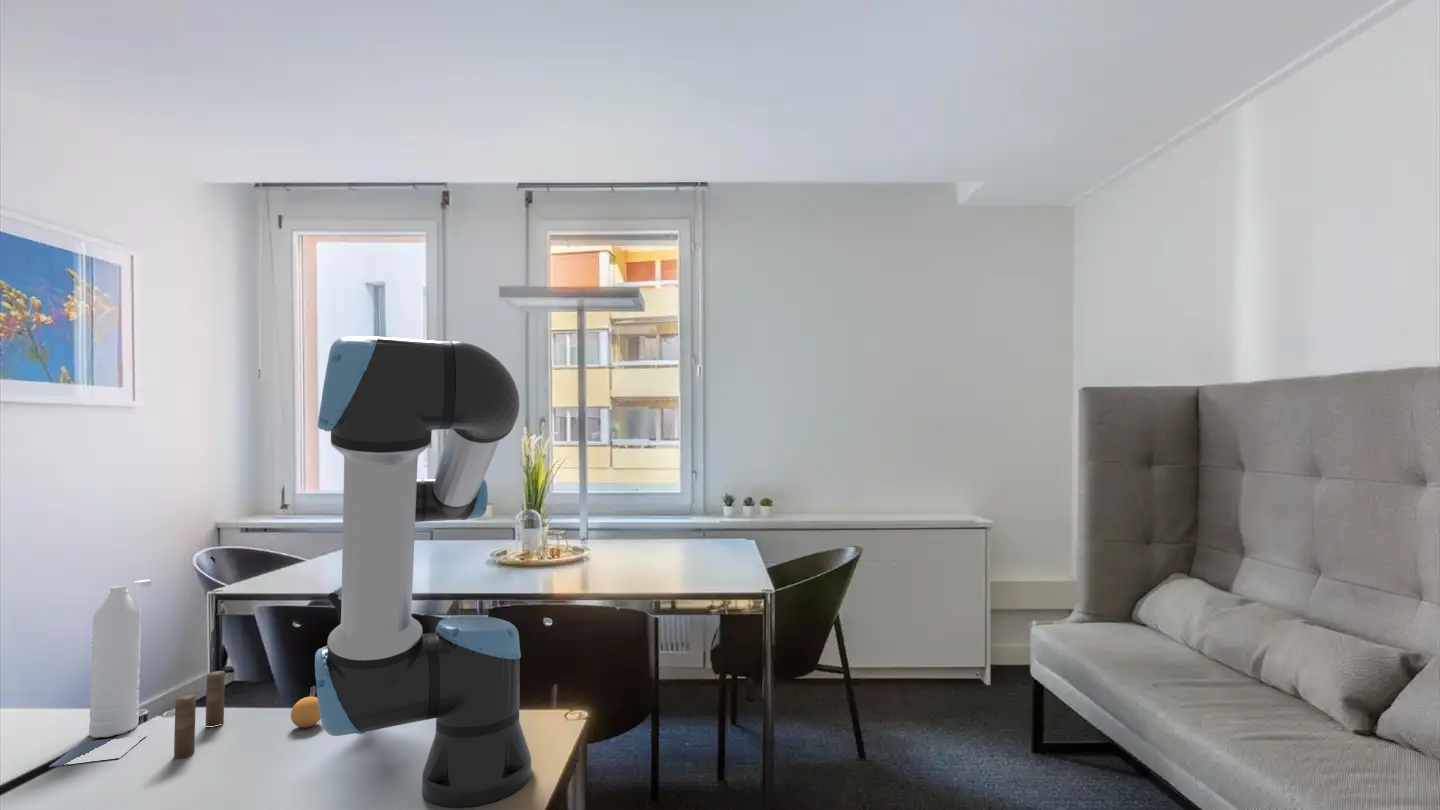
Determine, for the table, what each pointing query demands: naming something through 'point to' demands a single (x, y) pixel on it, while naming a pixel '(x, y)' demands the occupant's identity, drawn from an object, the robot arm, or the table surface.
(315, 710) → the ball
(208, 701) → the far post
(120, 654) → the water bottle
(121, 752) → the table surface
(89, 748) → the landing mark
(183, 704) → the near post
